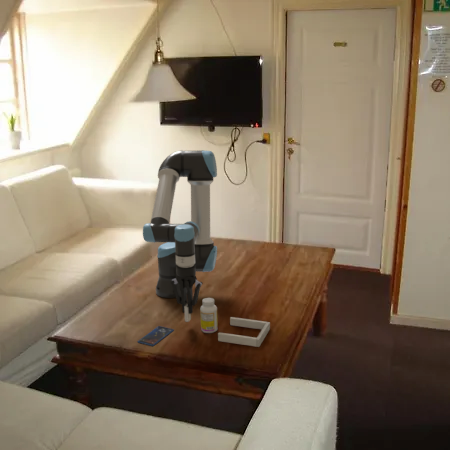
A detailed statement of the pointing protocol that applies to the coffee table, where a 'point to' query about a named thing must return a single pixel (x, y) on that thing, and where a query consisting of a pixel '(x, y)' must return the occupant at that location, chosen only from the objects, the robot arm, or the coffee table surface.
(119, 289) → the coffee table surface
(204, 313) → the supplement bottle
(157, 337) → the smartphone
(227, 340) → the corral
